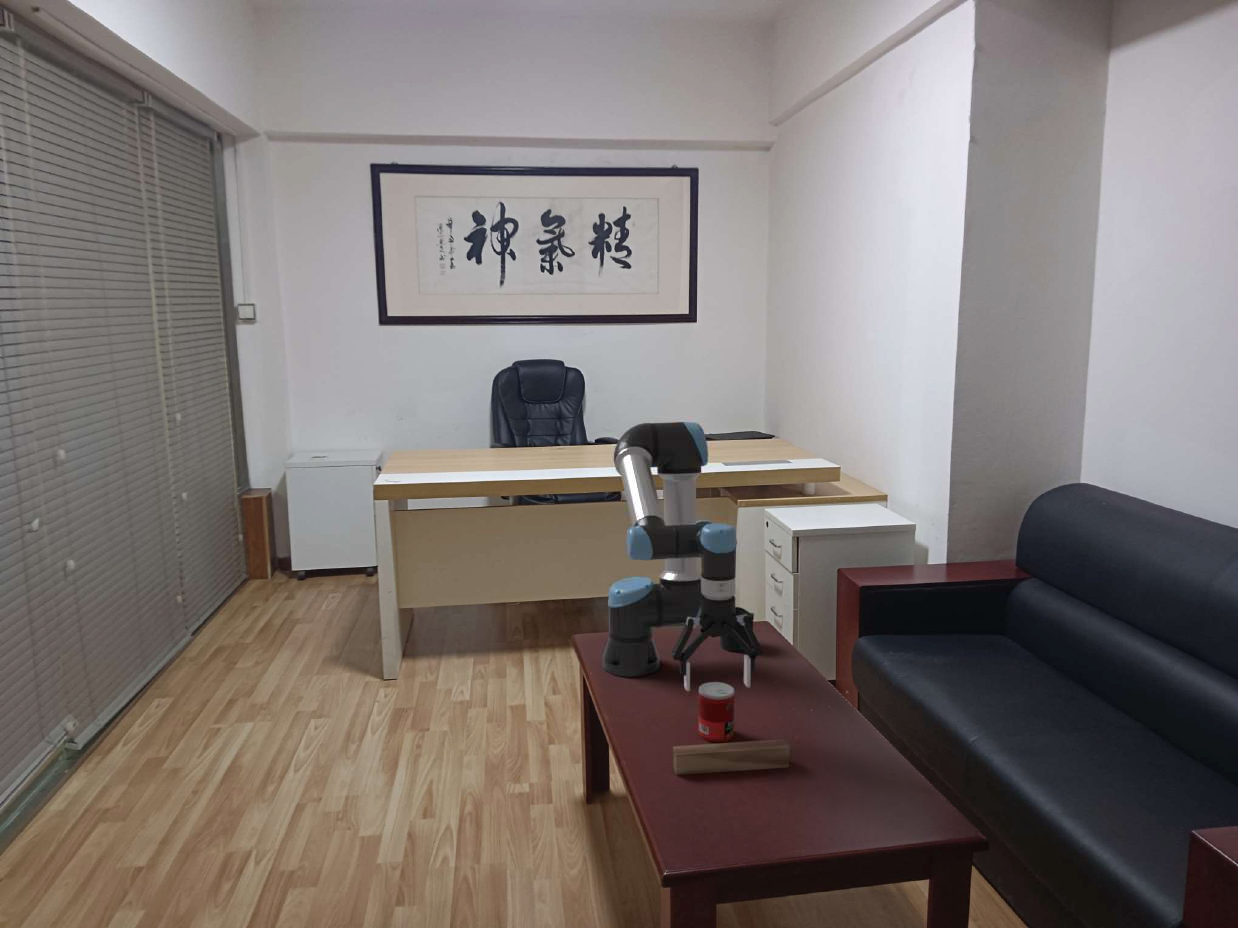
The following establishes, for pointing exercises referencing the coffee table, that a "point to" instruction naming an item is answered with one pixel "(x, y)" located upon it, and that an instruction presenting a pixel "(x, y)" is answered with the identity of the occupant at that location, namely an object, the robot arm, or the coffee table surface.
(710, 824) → the coffee table surface
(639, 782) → the coffee table surface
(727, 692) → the canned food
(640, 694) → the coffee table surface
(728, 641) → the pen holder
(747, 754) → the board
